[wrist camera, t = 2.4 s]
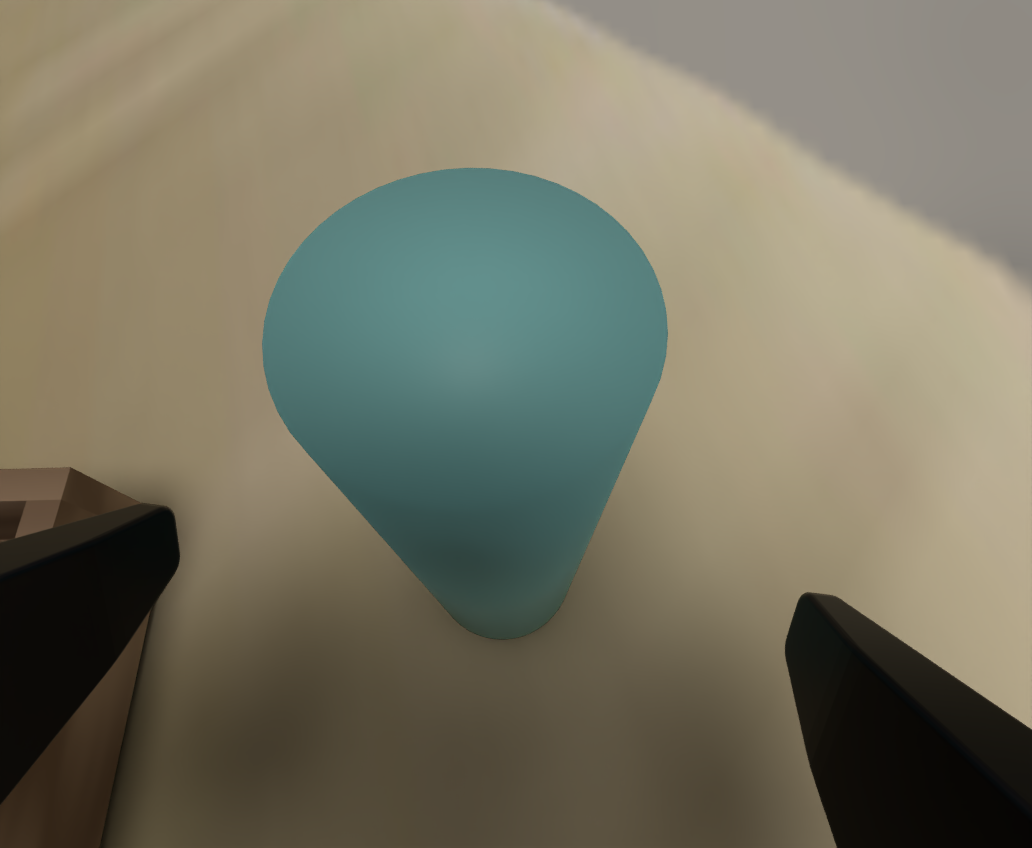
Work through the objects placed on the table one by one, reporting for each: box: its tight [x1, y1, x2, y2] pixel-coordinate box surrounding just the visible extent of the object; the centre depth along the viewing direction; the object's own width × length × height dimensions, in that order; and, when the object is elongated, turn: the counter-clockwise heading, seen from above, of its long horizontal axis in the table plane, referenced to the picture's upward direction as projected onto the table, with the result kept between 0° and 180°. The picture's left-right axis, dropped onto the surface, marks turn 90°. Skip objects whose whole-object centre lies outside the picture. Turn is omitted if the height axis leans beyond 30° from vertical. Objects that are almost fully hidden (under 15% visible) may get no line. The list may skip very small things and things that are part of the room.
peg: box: [262, 168, 668, 639], centre depth 12 cm, size 4×4×13 cm
